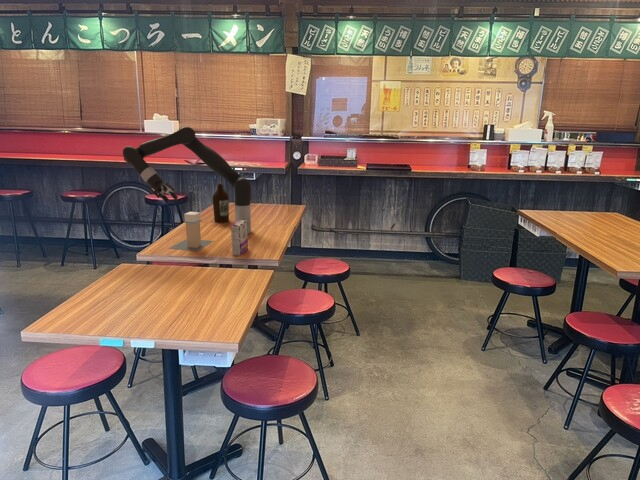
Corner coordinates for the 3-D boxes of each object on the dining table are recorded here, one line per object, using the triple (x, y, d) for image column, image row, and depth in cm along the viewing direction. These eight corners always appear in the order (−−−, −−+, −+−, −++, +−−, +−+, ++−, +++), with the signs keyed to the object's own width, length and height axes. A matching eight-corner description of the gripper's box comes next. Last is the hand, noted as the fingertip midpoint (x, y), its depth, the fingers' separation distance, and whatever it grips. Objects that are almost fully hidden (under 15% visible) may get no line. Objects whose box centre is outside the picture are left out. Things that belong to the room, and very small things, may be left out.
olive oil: (210, 220, 323) (208, 183, 316) (224, 218, 330) (222, 181, 323) (219, 223, 315) (217, 185, 308) (233, 221, 322) (231, 183, 315)
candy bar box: (239, 249, 262) (238, 219, 258) (248, 250, 261) (247, 220, 257) (231, 255, 252) (230, 224, 247) (240, 256, 251) (239, 225, 246)
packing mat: (186, 240, 277) (186, 238, 277) (214, 242, 273) (214, 241, 273) (168, 250, 259) (168, 248, 258) (197, 253, 255) (197, 251, 255)
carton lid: (190, 220, 263) (189, 211, 262) (200, 221, 262) (200, 212, 260) (184, 223, 258) (184, 214, 256) (195, 224, 256) (194, 214, 255)
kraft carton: (192, 244, 267) (190, 221, 263) (201, 245, 265) (199, 221, 262) (187, 247, 261) (185, 223, 258) (196, 247, 260) (195, 224, 257)
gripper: (147, 174, 251) (169, 198, 251) (163, 171, 264) (183, 193, 264) (139, 184, 253) (161, 207, 254) (155, 180, 267) (175, 202, 267)
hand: (172, 200), depth 259 cm, fingers open, 8 cm apart
